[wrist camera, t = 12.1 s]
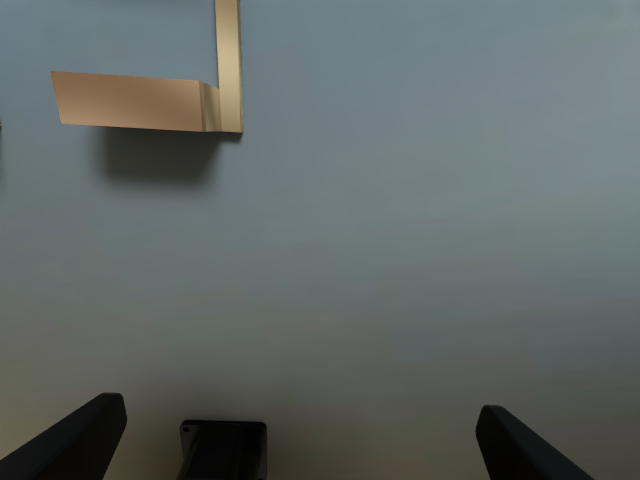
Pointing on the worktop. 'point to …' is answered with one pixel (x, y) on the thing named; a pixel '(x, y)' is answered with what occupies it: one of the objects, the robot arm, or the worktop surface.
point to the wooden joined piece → (161, 92)
